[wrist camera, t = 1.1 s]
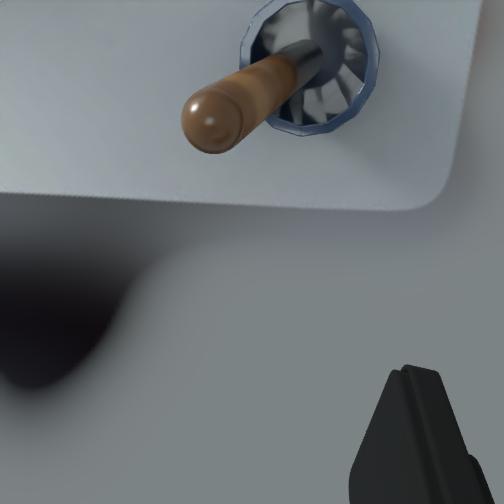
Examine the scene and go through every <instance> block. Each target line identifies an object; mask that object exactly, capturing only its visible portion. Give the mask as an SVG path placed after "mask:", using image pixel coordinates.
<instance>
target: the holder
mask: <svg viewBox="0 0 504 504" xmlns="http://www.w3.org/2000/svg"><path fill="white" fill-rule="evenodd" d="M302 40H310V41H313V42H315V43H316V44H317V45H318V46H319V47H320V48H321V50H322V52H323V65H322V67H321V69H320V71H319V72H318V73H317V74H316V75H315V76H314V77H313V78H312V79H311V80H309V81H308V82H307V83H306V84H305V85H304V86H303V87H302V88H300V89H299V90H298V91H297V92H296V93H295V94H294V95H292V96H291V97H290V98H289V99H288V100H287V101H286V102H284V103H283V104H282V105H281V106H280V107H279V108H278V109H277V110H275V111H274V112H273V113H272V114H271V115H270V116H269V117H267V118H266V119H265V121H266V122H267V123H268V124H269V125H270V126H271V127H273V128H275V129H278V130H281V131H284V132H287V133H290V134H293V135H297V136H302V137H303V136H310V135H317V134H324V133H329V132H332V131H334V130H335V129H337V128H338V127H340V126H341V125H343V124H344V123H346V122H347V121H349V120H350V119H352V118H354V117H355V116H356V115H357V114H358V113H359V111H360V110H361V108H362V107H363V105H364V104H365V102H366V100H367V99H368V97H369V96H370V94H371V93H372V91H373V90H374V87H375V84H376V78H377V71H378V65H379V59H380V51H379V47H378V44H377V40H376V37H375V33H374V30H373V26H372V22H371V21H370V19H369V18H368V17H367V16H366V15H365V14H364V13H363V11H362V10H361V9H360V8H359V7H358V6H357V5H356V4H355V3H354V2H353V1H352V0H272V1H271V2H269V3H268V4H267V5H266V6H264V7H263V8H262V9H261V10H259V11H258V12H257V14H255V16H254V18H253V20H252V22H251V24H250V26H249V28H248V30H247V32H246V34H245V36H244V38H243V40H242V42H241V45H240V66H239V70H242V69H244V68H246V67H248V66H250V65H252V64H254V63H256V62H258V61H260V60H262V59H264V58H266V57H268V56H270V55H272V54H274V53H276V52H278V51H280V50H282V49H284V48H287V47H289V46H291V45H293V44H295V43H297V42H299V41H302Z"/></svg>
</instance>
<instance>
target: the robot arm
mask: <svg viewBox="0 0 504 504" xmlns="http://www.w3.org/2000/svg"><path fill="white" fill-rule="evenodd" d="M349 501H350V504H495V503H494V500H493V498H492V495H491V492H490V490H489V487H488V484H487V482H486V479H485V477H484V474H483V472H482V469H481V467H480V465H479V463H478V461H477V459H476V458H475V457H473V456H472V455H470V454H468V451H467V449H466V446H465V443H464V440H463V438H462V435H461V432H460V429H459V427H458V424H457V421H456V418H455V416H454V413H453V410H452V407H451V405H450V402H449V399H448V396H447V394H446V391H445V388H444V385H443V382H442V380H441V377H440V375H439V373H438V372H437V371H434V370H430V369H425V368H421V367H417V366H412V365H404V366H403V367H402V369H401V371H399V370H392V372H391V373H390V375H389V377H388V380H387V382H386V384H385V387H384V389H383V392H382V394H381V397H380V399H379V402H378V404H377V407H376V409H375V412H374V414H373V417H372V419H371V422H370V424H369V426H368V429H367V431H366V434H365V437H364V439H363V441H362V444H361V446H360V448H359V451H358V453H357V456H356V458H355V461H354V463H353V466H352V468H351V472H350V477H349Z"/></svg>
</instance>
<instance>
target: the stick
mask: <svg viewBox="0 0 504 504" xmlns="http://www.w3.org/2000/svg"><path fill="white" fill-rule="evenodd" d="M322 65H323V52H322V50H321V48H320V47H319V46H318V45H317V44H316V43H315V42H313V41H310V40H302V41H299V42H297V43H295V44H293V45H291V46H289V47H287V48H284V49H282V50H280V51H278V52H276V53H274V54H272V55H270V56H268V57H266V58H264V59H262V60H260V61H258V62H256V63H254V64H252V65H250V66H248V67H246V68H244V69H242V70H239V71H237V72H235V73H233V74H231V75H229V76H227V77H225V78H223V79H221V80H219V81H217V82H215V83H213V84H211V85H209V86H207V87H205V88H203V89H201V90H199V91H197V92H195V93H194V94H193V95H192V96H191V97H190V98H189V99H188V100H187V102H186V103H185V105H184V108H183V110H182V114H181V125H182V130H183V132H184V135H185V137H186V139H187V140H188V141H189V143H190V144H191V145H193V146H194V147H195V148H196V149H198V150H199V151H202V152H204V153H208V154H220V153H224V152H226V151H228V150H230V149H232V148H233V147H234V146H236V145H237V144H238V143H239V142H240V141H241V140H242V139H244V138H245V137H246V136H247V135H248V134H249V133H250V132H252V131H253V130H254V129H255V128H256V127H257V126H258V125H260V124H261V123H262V122H263V121H264V120H265V119H266V118H267V117H269V116H270V115H271V114H272V113H273V112H274V111H275V110H277V109H278V108H279V107H280V106H281V105H282V104H283V103H284V102H286V101H287V100H288V99H289V98H290V97H291V96H292V95H294V94H295V93H296V92H297V91H298V90H299V89H300V88H302V87H303V86H304V85H305V84H306V83H307V82H308V81H309V80H311V79H312V78H313V77H314V76H315V75H316V74H317V73H318V72H319V71H320V69H321V67H322Z"/></svg>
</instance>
